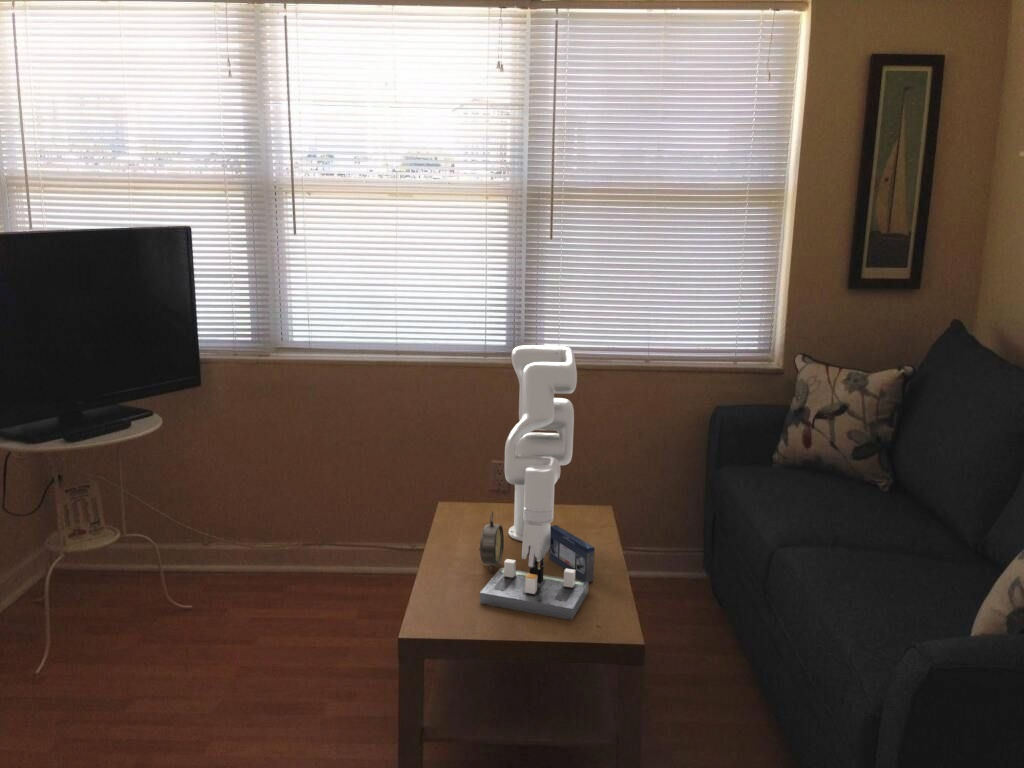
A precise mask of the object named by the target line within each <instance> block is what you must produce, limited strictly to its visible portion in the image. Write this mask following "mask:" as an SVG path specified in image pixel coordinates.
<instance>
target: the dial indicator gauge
mask: <svg viewBox="0 0 1024 768" xmlns="http://www.w3.org/2000/svg"><path fill="white" fill-rule="evenodd" d="M493 520H494V511H493V510H491V512H490V519H489V523H490V524H486V525H484V526H483V528H482V530H481V534H480V541H479V549H478V550H479V555H480V559H481V562H482V563H483V564H482V566H484V565H485V566H486V565H487V566H490V567H489V568H490V569H489V573H490V574H492V573H493V569H494V566H500V564H501V563H502V560H503V554H504V546H505V545H504V543H505V541H504V539H505V538H504V537H505V535H504V530H503V529H504V528H503V526H502V525H501V524H494V521H493Z"/></svg>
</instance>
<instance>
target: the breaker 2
mask: <svg viewBox="0 0 1024 768" xmlns="http://www.w3.org/2000/svg"><path fill="white" fill-rule="evenodd" d="M563 578H564V582H563V586H566V587H572V588H573V587H574V585H575V580H576V577H575V570H573V569H567V568H566V569H564V571H563Z"/></svg>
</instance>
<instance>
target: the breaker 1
mask: <svg viewBox="0 0 1024 768" xmlns="http://www.w3.org/2000/svg"><path fill="white" fill-rule="evenodd" d="M516 564H517V560H515V559H509V558H506V559H505V560H504V563H503V568H504V576H506V577H512V578H513V577H514V576H515V574H516V570H517V569H516V568H517V567H516Z"/></svg>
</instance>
